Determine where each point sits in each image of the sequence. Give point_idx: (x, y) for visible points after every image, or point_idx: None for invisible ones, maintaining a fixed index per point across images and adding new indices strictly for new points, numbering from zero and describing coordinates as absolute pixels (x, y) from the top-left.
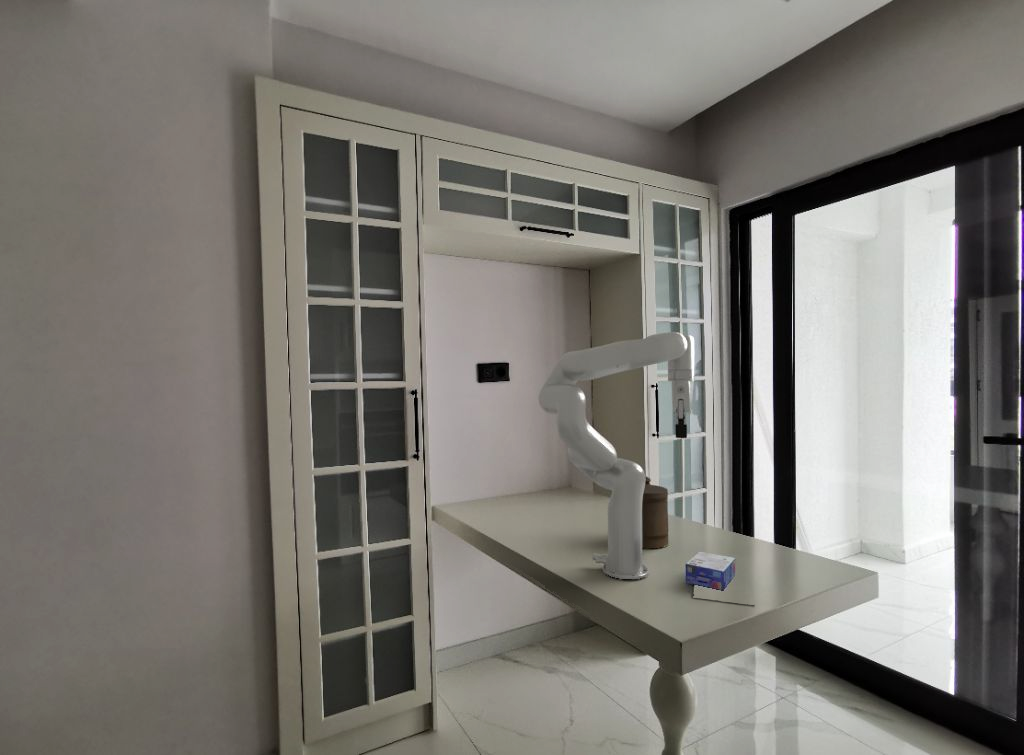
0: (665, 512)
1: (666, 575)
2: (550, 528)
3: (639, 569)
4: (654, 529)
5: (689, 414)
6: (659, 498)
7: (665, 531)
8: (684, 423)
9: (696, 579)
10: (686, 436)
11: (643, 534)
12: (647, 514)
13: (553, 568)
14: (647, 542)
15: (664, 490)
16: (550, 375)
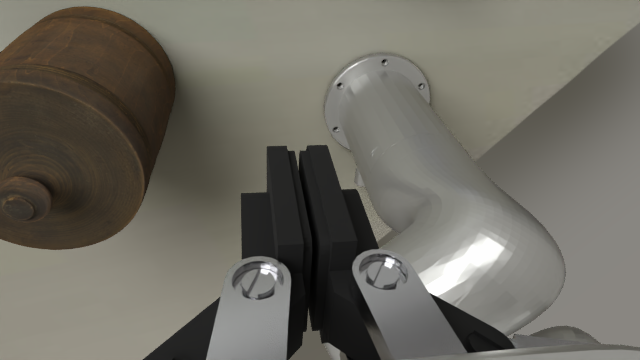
0: (87, 53)
1: (375, 6)
2: (112, 302)
3: (404, 77)
4: (153, 71)
5: (623, 345)
6: (110, 101)
7: (111, 30)
8: (408, 277)
9: None
10: (329, 153)
11: (170, 97)
12: (155, 115)
13: (381, 229)
14: (170, 75)
15: (32, 95)
16: None
